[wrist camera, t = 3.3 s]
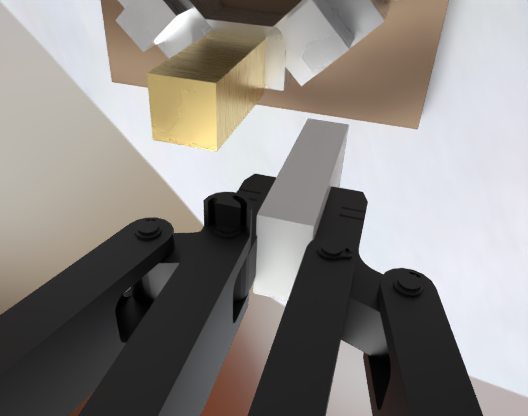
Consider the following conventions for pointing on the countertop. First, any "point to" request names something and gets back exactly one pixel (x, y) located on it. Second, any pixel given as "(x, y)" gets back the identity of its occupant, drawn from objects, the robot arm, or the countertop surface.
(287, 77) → the white blocky ring
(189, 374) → the robot arm
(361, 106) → the board
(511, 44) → the countertop surface
